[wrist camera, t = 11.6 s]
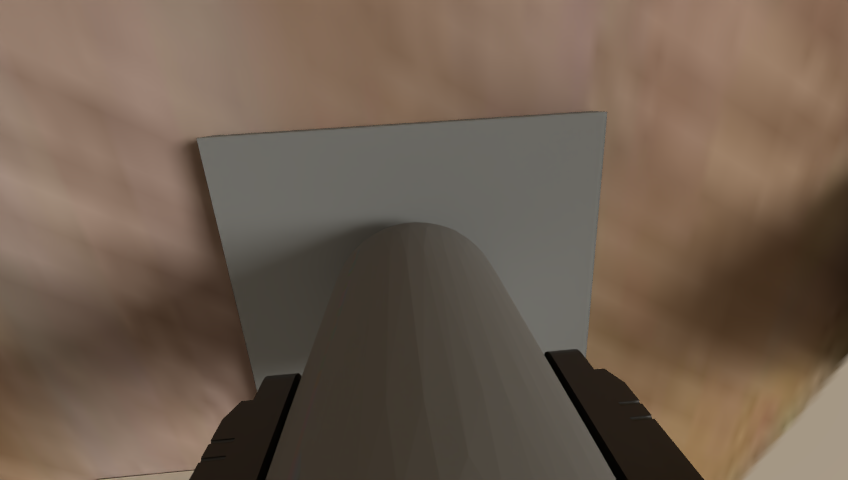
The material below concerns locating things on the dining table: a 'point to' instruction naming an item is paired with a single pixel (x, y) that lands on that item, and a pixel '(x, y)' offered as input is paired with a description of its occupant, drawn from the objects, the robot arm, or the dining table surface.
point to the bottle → (429, 376)
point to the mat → (406, 216)
